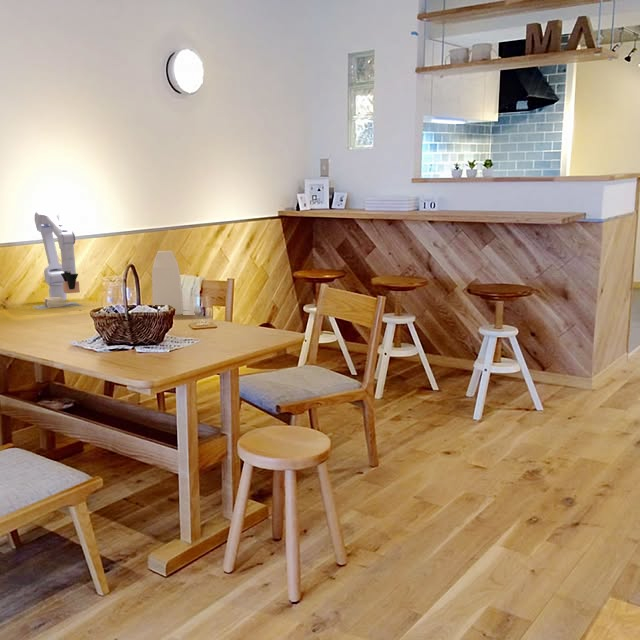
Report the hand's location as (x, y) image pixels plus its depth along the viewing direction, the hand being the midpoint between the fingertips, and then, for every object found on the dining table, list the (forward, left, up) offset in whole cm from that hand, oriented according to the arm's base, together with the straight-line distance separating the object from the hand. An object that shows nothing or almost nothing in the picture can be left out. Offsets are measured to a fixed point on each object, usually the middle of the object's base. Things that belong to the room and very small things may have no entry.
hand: (70, 288), depth 333 cm
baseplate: (+2, -7, -8) cm, 11 cm away
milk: (+48, +28, -9) cm, 56 cm away
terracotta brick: (0, 0, -2) cm, 2 cm away
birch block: (+2, -8, -7) cm, 11 cm away
